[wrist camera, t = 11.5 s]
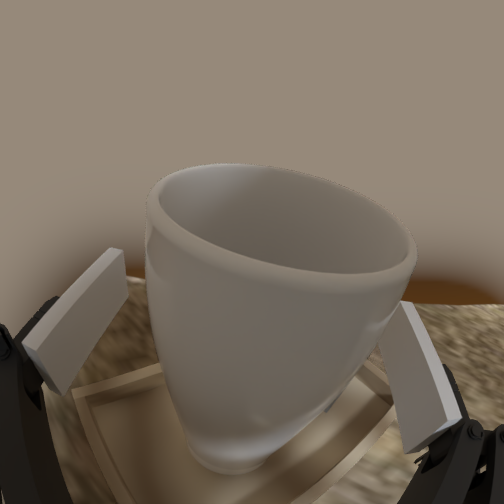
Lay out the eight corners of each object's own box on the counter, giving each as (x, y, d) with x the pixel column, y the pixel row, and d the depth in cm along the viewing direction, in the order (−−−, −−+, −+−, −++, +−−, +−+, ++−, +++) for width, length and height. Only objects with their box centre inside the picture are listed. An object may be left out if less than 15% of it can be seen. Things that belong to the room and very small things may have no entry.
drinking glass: (304, 452, 14) (452, 242, 6) (211, 505, 10) (263, 363, 2) (243, 382, 18) (294, 162, 11) (155, 417, 14) (117, 168, 7)
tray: (293, 324, 26) (300, 305, 25) (397, 411, 17) (412, 395, 16) (82, 406, 14) (71, 389, 13) (176, 572, 6) (172, 578, 4)
